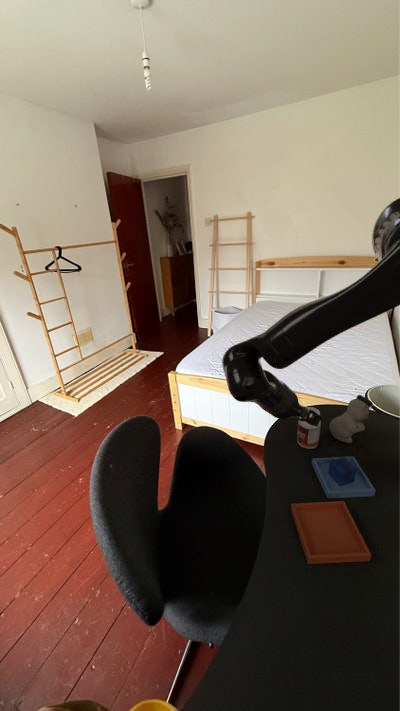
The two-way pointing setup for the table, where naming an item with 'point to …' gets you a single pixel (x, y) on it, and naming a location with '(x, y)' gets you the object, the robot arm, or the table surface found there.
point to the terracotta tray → (329, 533)
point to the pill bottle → (308, 432)
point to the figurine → (351, 419)
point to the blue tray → (333, 490)
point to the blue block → (342, 471)
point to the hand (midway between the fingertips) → (298, 415)
